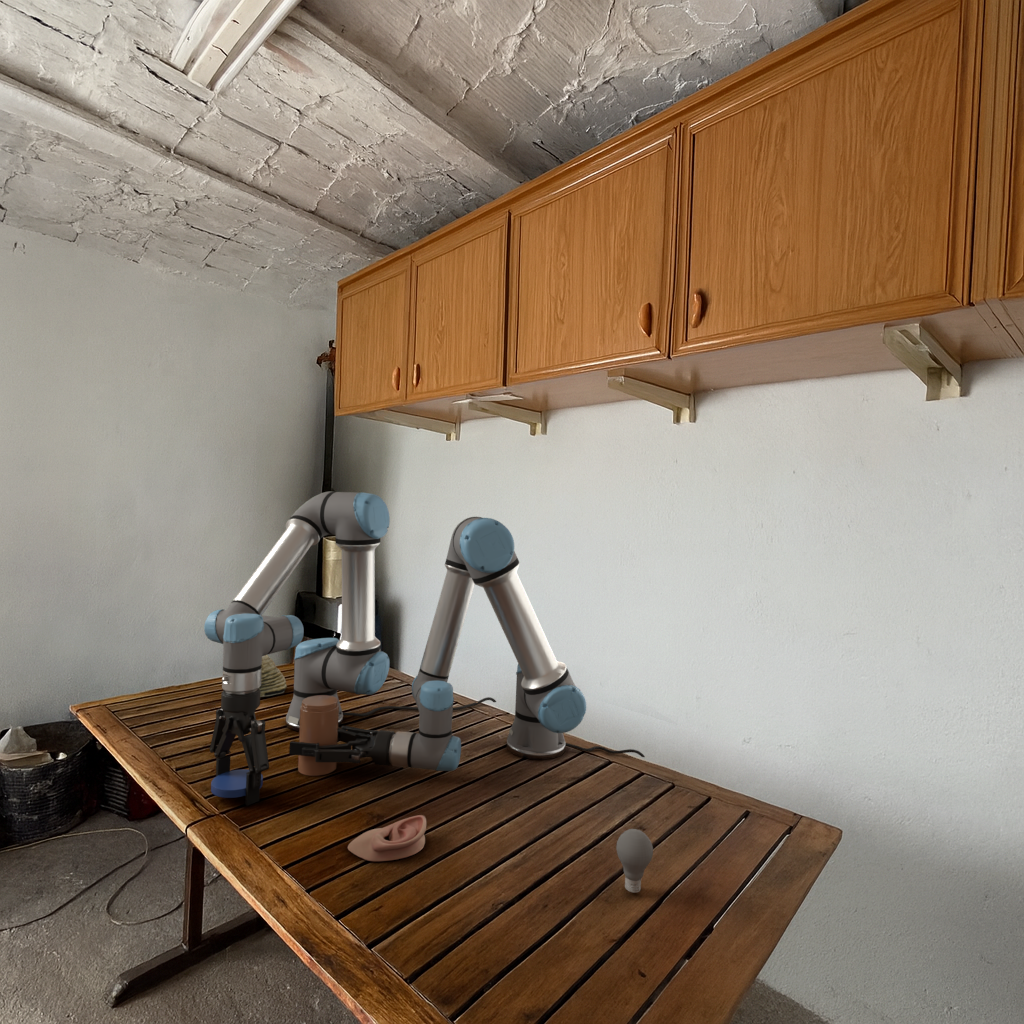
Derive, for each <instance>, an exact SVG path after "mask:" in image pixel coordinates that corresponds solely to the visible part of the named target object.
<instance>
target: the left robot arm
mask: <svg viewBox="0 0 1024 1024" xmlns="http://www.w3.org/2000/svg"><path fill="white" fill-rule="evenodd" d="M390 522H391V521H390V512H389V508H388V506H387V504H386V502H385V500H384V499H383V498H382V497H381V496H379V495H378V494H375V493H368V492H363V491H362V492H355V491H354V492H352V491H351V492H350V491H325V492H321V493H318V494H316V495H315V496H313V497H311V498H309V499H308V500H307V501H305V502H304V503H303V504H301V505H300V506H299V507H298V508H297V509H296V510H295V511H294V512H293V514H292V515H291V516H290V517H289V518H288V520H287V521H286V523H285V530H284V531H283V533H282V534H281V536H280V537H279V538H278V539H277V540H276V542H275V544H274V545H273V546H272V548H271V549H270V550H269V551H268V553H267V554H266V556H265V557H264V558H263V560H262V561H261V562H260V564H259V565H258V566H257V567H256V568H255V570H254V571H253V573H252V574H251V575H250V577H249V578H248V579H247V581H246V582H245V583H244V584H243V586H242V588H241V589H240V590H239V591H238V592H237V594H236V595H235V596H234V598H233V600H231V601H230V603H229V604H228V606H227V607H226V609H223V608H222V609H216V610H214V611H212V612H210V613H209V614H208V616H207V617H206V619H205V621H204V625H203V627H204V628H203V629H204V634H205V636H206V637H207V639H208V640H210V641H212V642H214V643H218V644H222V678H221V689H222V691H221V695H220V696H221V697H220V699H221V700H220V708H218V709H216V710H215V723H214V728H213V733H212V735H211V741H210V746H209V752H210V753H211V754H212V753H213V755H214V758H215V777H216V776H218V775H220V774H222V773H225V772H229V771H231V755H230V754H231V753H232V752H231V747H232V745H233V743H234V740H235V738H236V736H237V739H238V741H239V742H241V745H242V748H243V752H244V755H245V760H246V763H247V767H248V770H249V771H250V772H247V773H246V774H247V775H246V796H245V799H244V800H245V801H244V804H245V806H250V805H252V804H255V803H257V802H260V796H261V794H260V793H261V788H260V786H261V774H262V772H265V771H267V770H269V769H270V763H269V755H268V754H269V753H268V745H267V738H266V721H265V719H262V720H258V719H257V718H256V717H257V716H256V710H258V708H259V707H260V706H261V697H260V692H261V691H260V689H259V687H260V686H261V669H262V668H261V667H262V656H265V655H268V656H269V655H272V654H275V653H278V652H282V651H288V650H290V649H291V648H295V652H294V653H295V654H294V657H293V660H294V661H293V662H294V668H293V669H294V670H293V695H292V696H293V697H292V699H291V702H290V704H289V708H288V711H287V713H286V715H285V726H286V728H287V729H289V730H291V731H294V732H295V731H296V732H299V726H300V707H301V704H302V700H303V699H305V698H307V697H311V696H317V695H328V696H333V697H336V698H337V699H338V704H339V721H338V727H339V726H340V725H342V723H343V722H344V716H345V717H347V716H348V717H357V718H361V717H362V718H363V717H368V716H370V715H372V714H374V713H377V712H379V711H384V710H402V711H404V710H405V711H406V710H407V711H419V709H418V707H417V706H401V705H400V706H398V705H385V706H380V707H375V708H373V709H371V710H369V711H367V712H363V713H362V712H361V713H357V712H346V711H345V712H343V709H342V706H341V702H340V699H339V695H338V691H340V692H346V693H351V694H356V695H358V696H359V695H366V696H371V695H374V694H376V693H377V692H379V691H380V690H381V688H382V687H383V685H384V684H385V682H386V679H387V678H388V674H389V671H390V666H391V665H390V663H391V662H390V657H389V656H388V653H386V652H384V651H382V650H381V649H382V648H381V640H379V639H378V638H377V637H376V634H375V633H376V588H375V587H376V581H375V580H376V579H375V577H376V572H375V571H376V566H375V565H376V563H375V562H376V561H375V560H376V558H375V556H376V552H375V551H376V549H377V547H379V545H380V544H381V538H383V537H385V536H386V535H387V533H388V529H389V528H390ZM329 535H331V536H335V537H334V538H335V545H336V546H337V547H338V548H339V549H340V550H341V638H340V639H339V638H337V637H321V638H313V639H307V640H304V641H303V638H304V633H305V632H304V630H305V629H304V625H303V623H302V621H301V619H300V618H299V617H297V616H295V615H293V614H287V615H285V614H281V615H280V616H271V615H264V613H265V611H266V610H267V609H268V607H269V606H270V604H271V603H272V602H273V600H274V599H275V598H276V596H277V595H278V593H279V592H280V590H281V589H282V588H283V586H284V585H285V584H286V582H287V580H288V579H289V578H290V576H291V575H292V573H293V572H294V571H295V570H296V568H297V567H298V565H299V564H300V562H301V561H302V560H303V558H304V557H305V555H306V554H307V552H308V551H309V549H310V548H311V547H312V546H316V545H318V543H319V542H320V541H321V539H322V538H324V537H325V536H329ZM486 701H491V702H493V703H497V700H496V698H493V697H490V696H489V697H484V698H482V699H480V700H478V701H474V702H472V703H468V704H465V705H461V706H456V707H454V706H453V712H454V711H459V710H466V709H468V708H472V707H475V706H478V705H480V704H482V703H484V702H486ZM476 702H478V703H476Z"/></svg>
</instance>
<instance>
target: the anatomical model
mask: <svg viewBox="0 0 1024 1024" xmlns="http://www.w3.org/2000/svg"><path fill="white" fill-rule="evenodd" d="M426 830H427V818H426V816H425V815H422V814H419V815H418V814H417V815H413V816H409V817H406V818H403V819H400V820H398V821H396V822H394V823H391V824H389V825H386V826H384V827H379V828H374V829H370V830H367V831H365V832H363V833H362V834H360V835H358V836H357V837H355V838H354V839H352V840H351V841H350V842H349V843H348V845H347V850H348V851H349V852H351V854H353V855H355V856H356V857H358V858H360V859H363V860H365V861H368V862H388V861H394V860H396V861H397V860H399V859H400V860H401V859H405V858H408V857H411V856H413V855H415V854H417V853H419V852H421V850H423V848H424V847H425V844H426V836H425V833H426Z"/></svg>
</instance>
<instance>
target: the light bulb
mask: <svg viewBox="0 0 1024 1024" xmlns="http://www.w3.org/2000/svg"><path fill="white" fill-rule="evenodd" d="M615 849H616V854H617V857H618V859H619V861H620V863H621V865H622V867H623V873H624V874H623V875H624V876H625V878H624V888H625V890H627V891H628V892H630V893H634V894H635V893H639V892H640V891H641V889H642V887H641V886H642V879H643V877H644V875H645V871H646V868H647V867H648V866H649V864H650V863H651V861H652V859H653V855H654V847H653V843H652V841H651V838H649V836H648V835H647V834H646V833H645V832H643V831H642V830H641V829H636V828H629V829H627V830H625V831H623V832H622V833H621V834H620V835H619V837H618V839H617V841H616V847H615Z"/></svg>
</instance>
